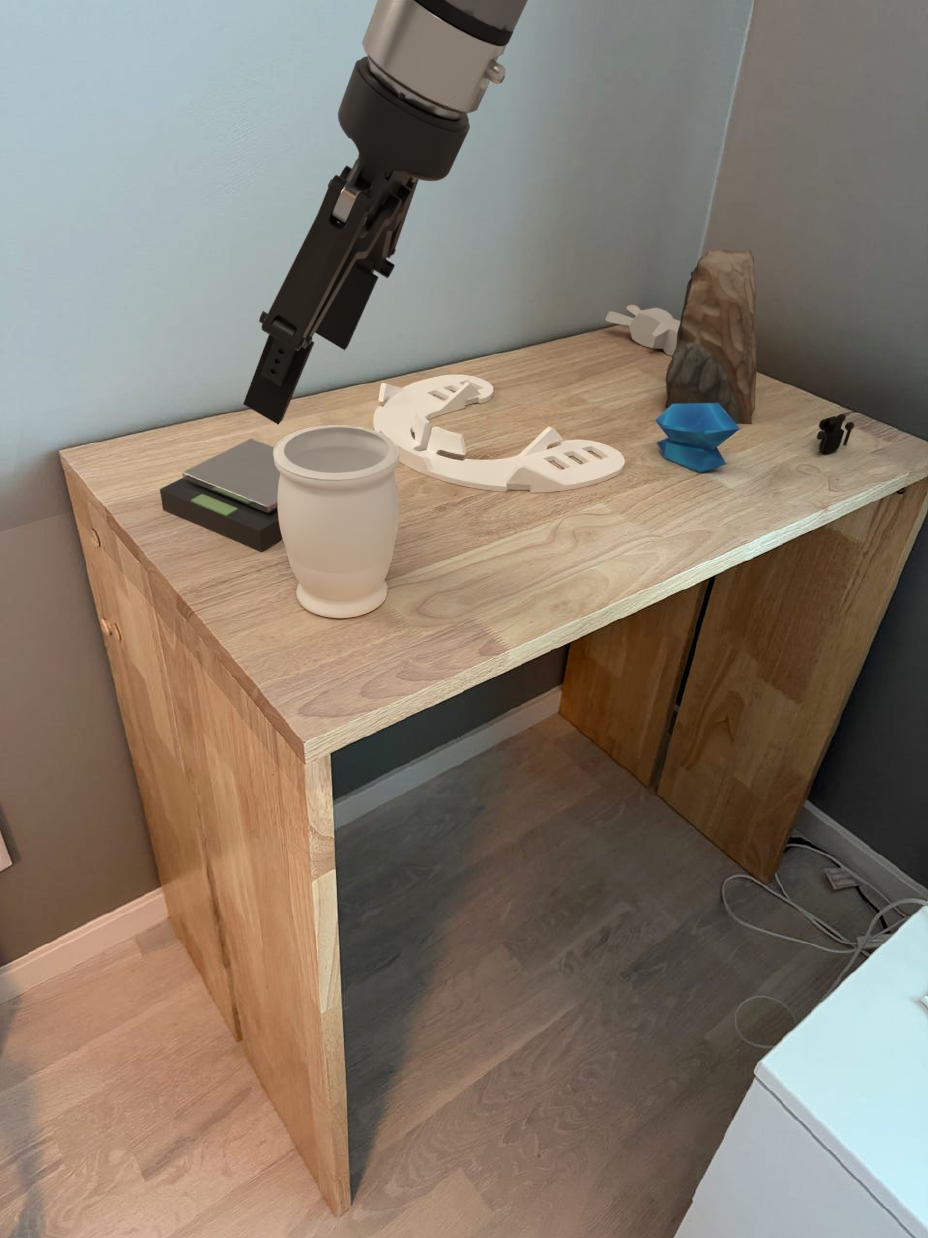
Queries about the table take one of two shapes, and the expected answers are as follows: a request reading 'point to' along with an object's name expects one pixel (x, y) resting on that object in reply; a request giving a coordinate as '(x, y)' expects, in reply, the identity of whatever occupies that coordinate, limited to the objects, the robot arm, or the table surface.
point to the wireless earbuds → (833, 433)
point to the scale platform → (241, 475)
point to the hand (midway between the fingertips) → (299, 373)
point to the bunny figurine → (649, 327)
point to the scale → (222, 514)
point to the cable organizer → (520, 472)
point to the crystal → (695, 434)
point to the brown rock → (717, 337)
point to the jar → (338, 516)
